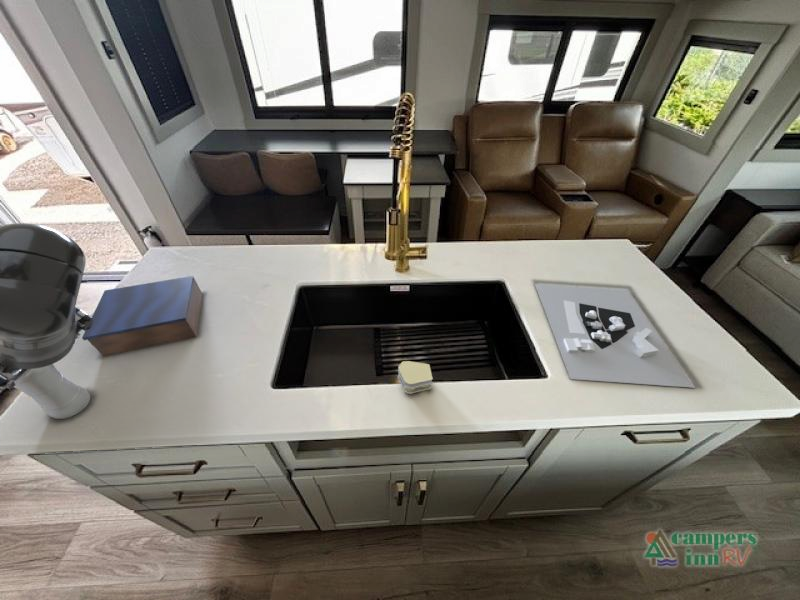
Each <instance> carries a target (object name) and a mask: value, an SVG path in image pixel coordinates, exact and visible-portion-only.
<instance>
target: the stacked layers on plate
mask: <svg viewBox="0 0 800 600" xmlns="http://www.w3.org/2000/svg"><path fill="white" fill-rule="evenodd" d="M397 369H398V370H397V373H398V374H397V380H398V381H399V383H400V385H401V387H402V389H403V391H404V392H405V394H408V395H412V394H415V393H419V392H423V391H429V390H432V385H431V384H433V381H432V380H433V379H434V378H433V374H432V369H431V365H430V364H429V363H425V362H424V363H423V362H417V361H411V360H404V361H402V362H401V363H400V364H399V365H398V367H397Z"/></svg>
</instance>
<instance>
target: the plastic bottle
mask: <svg viewBox="0 0 800 600" xmlns="http://www.w3.org/2000/svg"><path fill="white" fill-rule="evenodd" d="M19 370H22V369H19ZM2 375H3V374H2ZM14 383H15V385H16V386H14V387H13V388H15V389H16V390H19V391H21V392H22V393H24V394H25V395H27V396H29V397H30V398H31V399H32V400H33V401H34V402H35V403H37V404H38V406H40V408H41V409H42V411H43V412H44V413H45V414H46V415H47V416H49V417H51V418H54V419H57V420H63V419H69V418H71V417H74V416H76V415H78V414H79V413H81V412H82V411H84V409H85V408H86V407H87V406H88V405H89V403H90V401H91V395H90V393H89V392H88V390H87V389H86V388H84V387H83V386H81V385H79V384H77V383H75V382H74V381H72V380H71V379H69V378H67V377H66V376H65V375H64V374H63V373H61V371H60V370H59V369H58V368H57V366H55V364H51V365H49V366H45V367H41V368H35V369H31V370H30V371H29V372H28V373H27V374H26V375H25V376H24V377H22V378H20V379H18V380H16V381H14Z"/></svg>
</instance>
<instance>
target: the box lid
mask: <svg viewBox="0 0 800 600" xmlns="http://www.w3.org/2000/svg"><path fill="white" fill-rule="evenodd" d="M194 279H195V276H194V275H190V276H189V275H188V276H184V277H178V278H172V279H165V280H159V281H154V282H147V283H141V284H135V285H129V286H124V287H117V288H111V289H105V290H104V291H103V293H102V295H101V298H100V300H99V302H98V304H97V306H96V307H95V310H94V312H93V314H92V316H91V317H93V320H92V326H91V328H90V329H89V330H86V331H84V333H83V334H82V337H81V339H82V340H83V341H88V339H93V338H99V337H104V336H109V335H114V334H119V333H124V332H129V331H134V330H139V329H144V328H149V327H155V326H160V325H165V324H170V323H175V322H180V321H185V320H187V314H188V309H189V303H190V298H191V292H192V287H193V282H194Z"/></svg>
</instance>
